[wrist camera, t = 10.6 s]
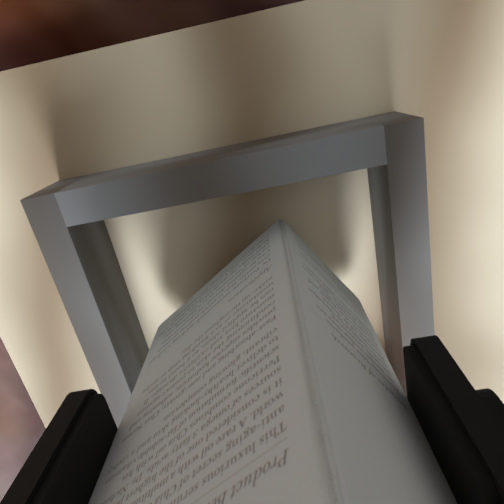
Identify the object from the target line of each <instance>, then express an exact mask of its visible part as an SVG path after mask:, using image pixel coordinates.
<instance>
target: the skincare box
mask: <svg viewBox="0 0 504 504" xmlns="http://www.w3.org/2000/svg"><path fill="white" fill-rule="evenodd" d="M88 504H458V503H457V501H456V499H455V497H454V495H453V493H452V490H451V488H450V486H449V484H448V482H447V480H446V478H445V476H444V474H443V472H442V470H441V468H440V466H439V464H438V461H437V459H436V457H435V455H434V453H433V451H432V449H431V447H430V445H429V443H428V440H427V438H426V436H425V434H424V432H423V430H422V428H421V426H420V424H419V422H418V420H417V418H416V416H415V414H414V412H413V410H412V408H411V405H410V403H409V401H408V399H407V397H406V395H405V393H404V391H403V389H402V387H401V385H400V383H399V380H398V378H397V376H396V374H395V372H394V370H393V368H392V366H391V364H390V362H389V360H388V358H387V356H386V354H385V352H384V350H383V348H382V346H381V344H380V342H379V340H378V337H377V335H376V333H375V331H374V329H373V327H372V325H371V323H370V321H369V319H368V317H367V315H366V313H365V311H364V309H363V306H362V304H361V302H360V300H359V299H358V298H357V297H356V296H355V294H354V293H353V292H352V291H351V290H350V289H349V288H348V287H347V286H346V285H345V284H344V283H343V282H342V281H341V280H340V279H339V278H338V277H337V276H336V275H335V274H334V273H333V272H332V271H331V269H330V268H329V267H328V266H327V265H326V264H325V263H324V262H323V261H322V260H321V259H320V258H319V257H318V256H317V255H316V254H315V252H314V251H313V250H312V249H311V248H310V247H309V246H308V245H307V244H306V243H305V242H304V241H303V240H302V239H301V238H300V237H299V236H298V235H297V234H296V233H295V232H294V231H293V229H292V228H291V227H290V226H289V225H288V224H287V223H286V222H285V221H283V220H281V219H278V220H277V221H276V222H275V223H273V224H272V225H271V226H270V227H269V228H268V229H267V230H266V231H265V232H264V233H262V234H261V235H260V236H259V237H258V238H257V239H256V240H255V241H253V242H252V243H251V244H250V245H249V246H248V247H247V248H246V249H244V250H243V251H242V252H241V253H240V254H239V255H238V256H237V257H235V258H234V259H233V260H232V261H231V262H230V263H229V264H228V265H227V266H225V267H224V268H223V269H222V270H221V271H220V272H219V273H217V274H216V275H215V276H214V277H213V278H212V279H211V280H210V281H209V282H208V283H207V284H205V285H204V286H203V287H202V288H201V289H200V290H199V291H197V292H196V293H195V294H194V295H193V296H192V297H191V298H190V299H189V300H188V301H186V302H185V303H184V304H183V305H182V306H181V307H180V308H179V309H177V310H176V311H175V312H174V313H173V314H172V315H171V316H170V317H168V318H167V319H166V320H165V321H164V322H163V323H161V325H160V326H159V327H158V329H157V332H156V334H155V337H154V339H153V342H152V344H151V347H150V349H149V352H148V354H147V357H146V359H145V362H144V364H143V367H142V369H141V372H140V374H139V377H138V379H137V382H136V385H135V387H134V390H133V392H132V394H131V397H130V400H129V402H128V405H127V407H126V409H125V413H124V415H123V418H122V420H121V423H120V425H119V428H118V430H117V433H116V435H115V438H114V440H113V443H112V446H111V448H110V451H109V453H108V456H107V458H106V461H105V463H104V466H103V468H102V470H101V473H100V476H99V478H98V481H97V483H96V486H95V488H94V491H93V493H92V496H91V498H90V501H89V503H88Z"/></svg>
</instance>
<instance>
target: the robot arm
mask: <svg viewBox="0 0 504 504" xmlns="http://www.w3.org/2000/svg"><path fill="white" fill-rule="evenodd" d="M403 357H404V368H405V380H406V392H407V399H408V401H409V403H410V405H411V408H412V410H413V412H414V414H415V416H416V418H417V420H418V422H419V424H420V426H421V428H422V430H423V432H424V434H425V436H426V438H427V440H428V443H429V445H430V447H431V449H432V451H433V453H434V455H435V457H436V459H437V461H438V464H439V466H440V468H441V470H442V472H443V474H444V476H445V478H446V480H447V482H448V484H449V486H450V488H451V490H452V493H453V495H454V497H455V499H456V501H457V503H458V504H504V404H503V402H502V401H501V400H500V398H499V397H498V396H497V395H496V394H495V392H494V391H493V390H491V389H489V388H486V389H479V390H475V389H474V388H473V386H472V385H471V383H470V382H469V380H468V379H467V377H466V376H465V375H464V373H463V372H462V370H461V369H460V367H459V366H458V365H457V363H456V362H455V360H454V359H453V357H452V356H451V354H450V353H449V352H448V350H447V349H446V347H445V346H444V344H443V343H442V341H441V340H440V339H439V337H438V336H436V335H433V336H426V337H420V338H413V339H411V341H410V346H404V347H403ZM117 430H118V428H117V426H116V423H115V421H114V418H113V416H112V414H111V411H110V409H109V406H108V404H107V402H106V399H105V397H104V395H103V394H98V393H97V391H96V390H94V389H88V390H81V391H75V392H71V393H69V394H68V395H67V396H66V397H65V399H64V401H63V402H62V404H61V406H60V407H59V409H58V410H57V412H56V414H55V415H54V417H53V418H52V420H51V422H50V423H49V425H48V427H47V428H46V430H45V431H44V433H43V435H42V436H41V438H40V439H39V441H38V443H37V444H36V446H35V448H34V449H33V451H32V452H31V454H30V456H29V457H28V459H27V460H26V462H25V464H24V465H23V467H22V469H21V470H20V472H19V473H18V475H17V477H16V478H15V480H14V481H13V483H12V485H11V486H10V488H9V490H8V491H7V493H6V494H5V496H4V498H3V499H2V501H1V503H0V504H88V503H89V501H90V498H91V496H92V493H93V491H94V488H95V486H96V483H97V481H98V478H99V476H100V473H101V470H102V468H103V466H104V463H105V461H106V458H107V456H108V453H109V451H110V448H111V446H112V443H113V440H114V438H115V435H116V433H117Z"/></svg>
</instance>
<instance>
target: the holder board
mask: <svg viewBox="0 0 504 504" xmlns="http://www.w3.org/2000/svg"><path fill="white" fill-rule="evenodd" d="M278 219H281V220H283V221H285V222H286V223H287V224H288V225H289V226H290V227H291V228H292V229H293V231H294V232H295V233H296V234H297V235H298V236H299V237H300V238H301V239H302V240H303V241H304V242H305V243H306V244H307V245H308V246H309V247H310V248H311V249H312V250H313V251H314V252H315V254H316V255H317V256H318V257H319V258H320V259H321V260H322V261H323V262H324V263H325V264H326V265H327V266H328V267H329V268H330V269H331V271H332V272H333V273H334V274H335V275H336V276H337V277H338V278H339V279H340V280H341V281H342V282H343V283H344V284H345V285H346V286H347V287H348V288H349V289H350V290H351V291H352V292H353V293H354V294H355V296H356V297H357V298H358V299H359V300H360V302H361V304H362V306H363V309H364V311H365V313H366V315H367V317H368V319H369V321H370V323H371V325H372V327H373V329H374V331H375V333H376V335H377V337H378V340H379V342H380V344H381V346H382V348H383V350H384V352H385V354H386V356H387V358H388V360H389V362H390V364H391V366H392V368H393V370H394V372H395V374H396V376H397V378H398V380H399V383H400V385H401V387H402V389H403V391H404V393H405V395H406V397H407V392H406V380H405V368H404V357H403V347H404V346H410V341H411V339H413V338H420V337H426V336H433V335H436V336H438V337H439V339H440V340H441V341H442V343H443V344H444V346H445V347H446V349H447V350H448V352H449V353H450V354H451V356H452V357H453V359H454V360H455V362H456V363H457V365H458V366H459V367H460V369H461V370H462V372H463V373H464V375H465V376H466V377H467V379H468V380H469V382H470V383H471V385H472V386H473V388H474V389H475V390H479V389H486V388H489V389H491V390H493V391H494V392H495V394H496V395H497V396H498V397H499V398H500V400H501V401H502V402H503V404H504V0H304V1H300V2H295V3H291V4H287V5H283V6H278V7H274V8H270V9H265V10H261V11H257V12H253V13H248V14H244V15H240V16H236V17H231V18H227V19H223V20H218V21H214V22H210V23H206V24H201V25H197V26H193V27H188V28H184V29H180V30H176V31H171V32H167V33H163V34H159V35H154V36H150V37H146V38H141V39H137V40H133V41H129V42H124V43H120V44H116V45H112V46H107V47H103V48H99V49H94V50H90V51H86V52H82V53H77V54H73V55H69V56H64V57H60V58H56V59H52V60H47V61H43V62H39V63H35V64H30V65H26V66H22V67H17V68H13V69H9V70H5V71H0V337H1V339H2V341H3V343H4V345H5V347H6V349H7V351H8V353H9V355H10V357H11V359H12V361H13V363H14V365H15V367H16V369H17V371H18V373H19V375H20V377H21V379H22V381H23V383H24V385H25V387H26V389H27V391H28V393H29V395H30V397H31V399H32V401H33V403H34V405H35V407H36V409H37V411H38V413H39V415H40V417H41V419H42V421H43V423H44V425H45V427H46V428H47V427H48V425H49V423H50V422H51V420H52V418H53V417H54V415H55V414H56V412H57V410H58V409H59V407H60V406H61V404H62V402H63V401H64V399H65V397H66V396H67V395H68V394H69V393H71V392H75V391H81V390H88V389H94V390H96V391H97V393H98V394H103V395H104V397H105V399H106V402H107V404H108V406H109V409H110V411H111V414H112V416H113V418H114V421H115V423H116V426H117V428H119V425H120V423H121V420H122V418H123V415H124V413H125V409H126V407H127V405H128V402H129V400H130V397H131V394H132V392H133V390H134V387H135V385H136V382H137V379H138V377H139V374H140V372H141V369H142V367H143V364H144V362H145V359H146V357H147V354H148V352H149V349H150V347H151V344H152V342H153V339H154V337H155V334H156V332H157V329H158V327H159V326H160V325H161V323H163V322H164V321H165V320H166V319H167V318H168V317H170V316H171V315H172V314H173V313H174V312H175V311H176V310H177V309H179V308H180V307H181V306H182V305H183V304H184V303H185V302H186V301H188V300H189V299H190V298H191V297H192V296H193V295H194V294H195V293H196V292H197V291H199V290H200V289H201V288H202V287H203V286H204V285H205V284H207V283H208V282H209V281H210V280H211V279H212V278H213V277H214V276H215V275H216V274H217V273H219V272H220V271H221V270H222V269H223V268H224V267H225V266H227V265H228V264H229V263H230V262H231V261H232V260H233V259H234V258H235V257H237V256H238V255H239V254H240V253H241V252H242V251H243V250H244V249H246V248H247V247H248V246H249V245H250V244H251V243H252V242H253V241H255V240H256V239H257V238H258V237H259V236H260V235H261V234H262V233H264V232H265V231H266V230H267V229H268V228H269V227H270V226H271V225H272V224H273V223H275V222H276V221H277V220H278Z"/></svg>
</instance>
